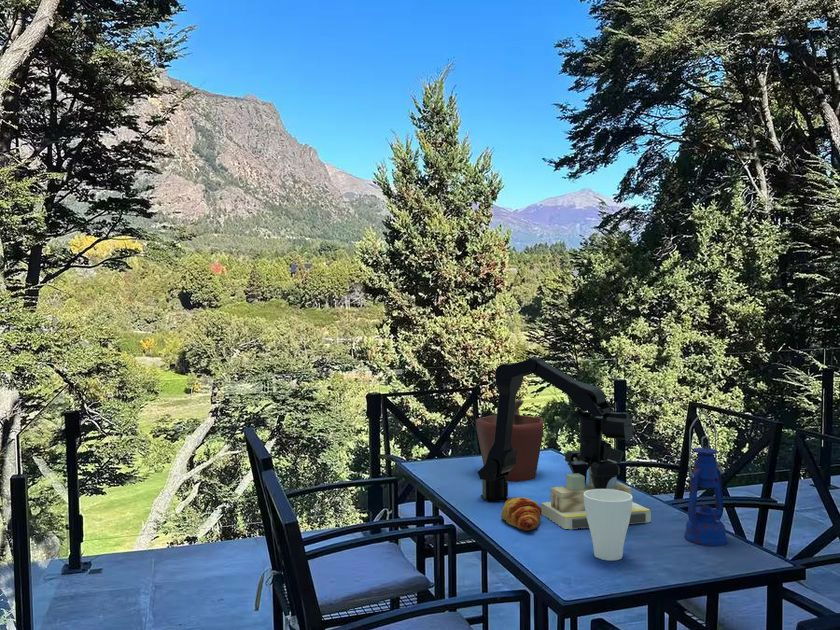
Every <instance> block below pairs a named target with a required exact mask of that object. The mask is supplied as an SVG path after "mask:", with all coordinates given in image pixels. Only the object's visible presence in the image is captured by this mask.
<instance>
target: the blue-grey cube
mask: <svg viewBox="0 0 840 630" xmlns="http://www.w3.org/2000/svg"><path fill="white" fill-rule="evenodd" d="M616 483H617V476H616V477H613V478H612V479H611V480H609V482H608V484H607V487H606V488H616Z"/></svg>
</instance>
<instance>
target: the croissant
mask: <svg viewBox="0 0 840 630" xmlns="http://www.w3.org/2000/svg"><path fill="white" fill-rule="evenodd" d="M541 513H542V509H541V505H539V503H538V502H536V501H535V500H532V499H530V498H528V497H510V498H509V497H508V500H507V501H504V504H503V508H502V510H501V513H500V514H501V519H502V520H504V521H505V520H506V523H507V524H508V525H510V526H513V527H515V528H517V529H519V530H522V531H531V530H535V529H536V528H538V525H539V523H540V522H541V515H542V514H541Z"/></svg>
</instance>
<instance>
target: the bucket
mask: <svg viewBox="0 0 840 630" xmlns="http://www.w3.org/2000/svg"><path fill="white" fill-rule="evenodd" d="M523 404H524V400H523V399H515V409H514V418H513V427H512V436H511V446H512V448H513V450H517V456H516V463H517V464H514V467H513V469H512V470H510V473H509V476H506V477H505V478H506V482H508V483H509V482H512V483H518V482H526V481H527V480H528V481H533V479H534V480H536V478H537V477H536V475H537V471H538V465H539V460H540V453H541V448H542V441H543V437H544V417H538V416H529V415H521V414H520V411H519V409H520V408H521V407H522V405H523ZM496 418H497V414H491V415H487V416H484V417H483V416H482V417H479V418H476V419H475V422H476V423H475V424H476V425H475V429H476V434H477V440H478V444H479V448H480V453H481V459H482V465H483V466H484V465H485V464H486V459H487V456H488V452H489V450H490V448H491V447H492V445H493V443H494V437H495V428H496Z"/></svg>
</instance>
